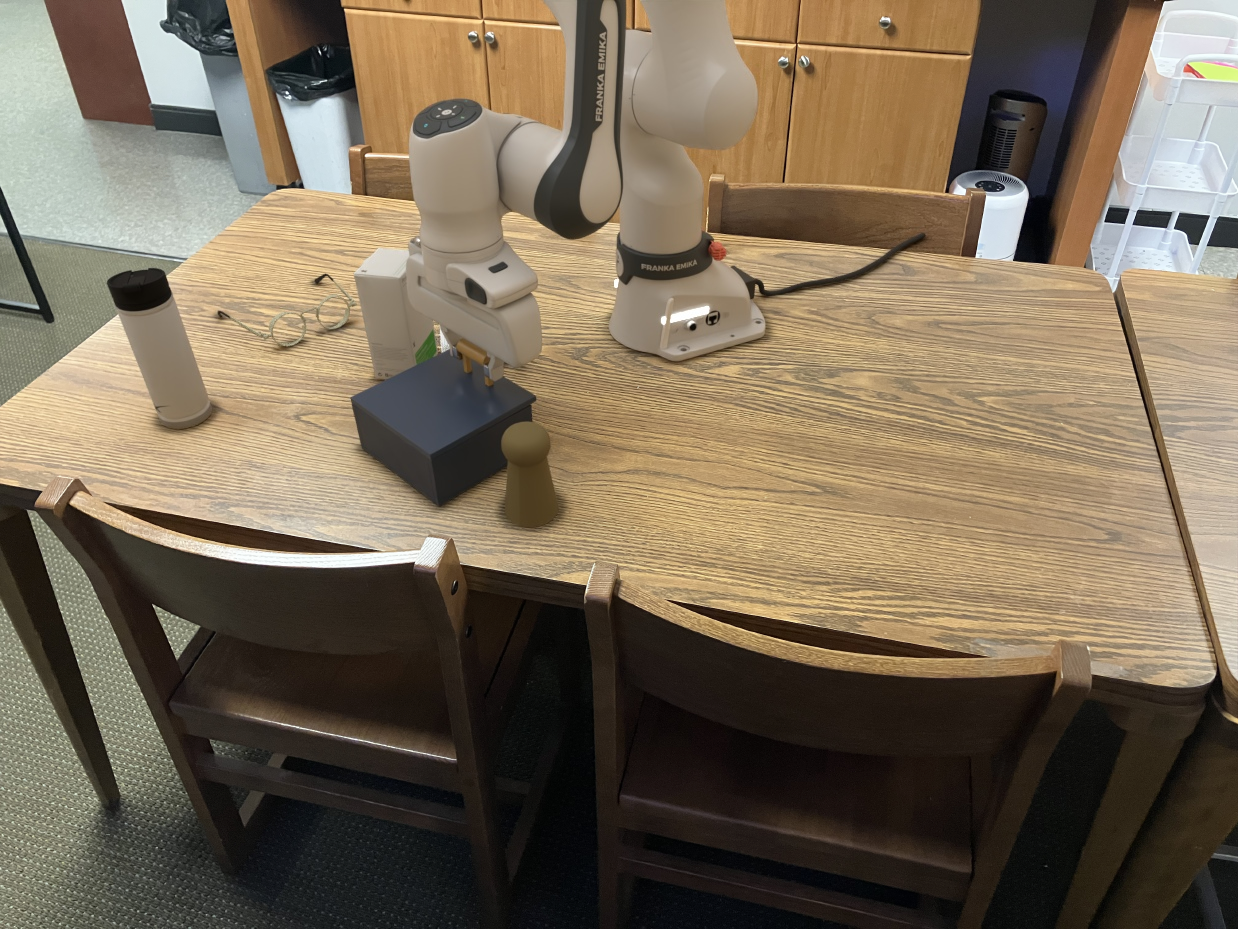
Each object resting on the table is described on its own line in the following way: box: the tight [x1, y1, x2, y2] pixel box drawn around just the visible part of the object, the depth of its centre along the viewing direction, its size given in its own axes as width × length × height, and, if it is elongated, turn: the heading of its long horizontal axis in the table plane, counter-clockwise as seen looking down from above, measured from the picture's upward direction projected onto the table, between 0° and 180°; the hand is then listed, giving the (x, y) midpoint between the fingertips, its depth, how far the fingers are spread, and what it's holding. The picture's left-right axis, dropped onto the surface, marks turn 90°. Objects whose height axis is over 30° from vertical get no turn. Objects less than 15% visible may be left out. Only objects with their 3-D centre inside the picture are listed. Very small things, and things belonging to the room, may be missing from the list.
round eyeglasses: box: [217, 273, 358, 347], centre depth 135 cm, size 17×15×5 cm
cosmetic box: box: [353, 247, 439, 381], centre depth 122 cm, size 8×7×16 cm
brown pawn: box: [501, 421, 559, 528], centre depth 100 cm, size 6×6×11 cm
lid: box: [349, 338, 537, 460], centre depth 107 cm, size 15×15×5 cm
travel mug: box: [106, 267, 213, 430], centre depth 112 cm, size 6×7×20 cm
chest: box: [351, 403, 534, 508], centre depth 110 cm, size 14×15×7 cm
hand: (477, 366), depth 110 cm, fingers closed on lid, 5 cm apart
